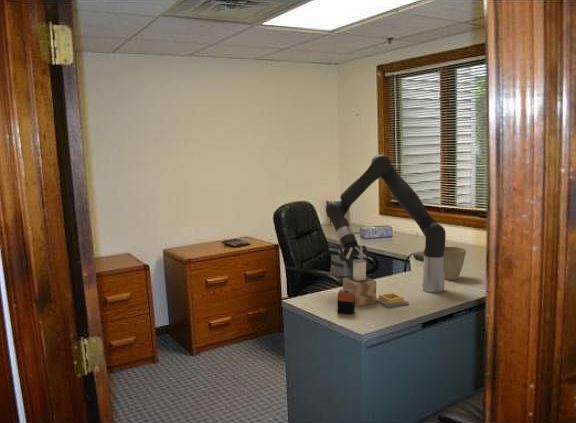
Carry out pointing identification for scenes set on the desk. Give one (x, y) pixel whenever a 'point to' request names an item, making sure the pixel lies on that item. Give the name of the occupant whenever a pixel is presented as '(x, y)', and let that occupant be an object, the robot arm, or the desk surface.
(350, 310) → the battery
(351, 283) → the wood grain square block
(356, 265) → the plug
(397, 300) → the orange-framed grey plate
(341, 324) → the desk surface
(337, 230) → the robot arm
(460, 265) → the plant pot
